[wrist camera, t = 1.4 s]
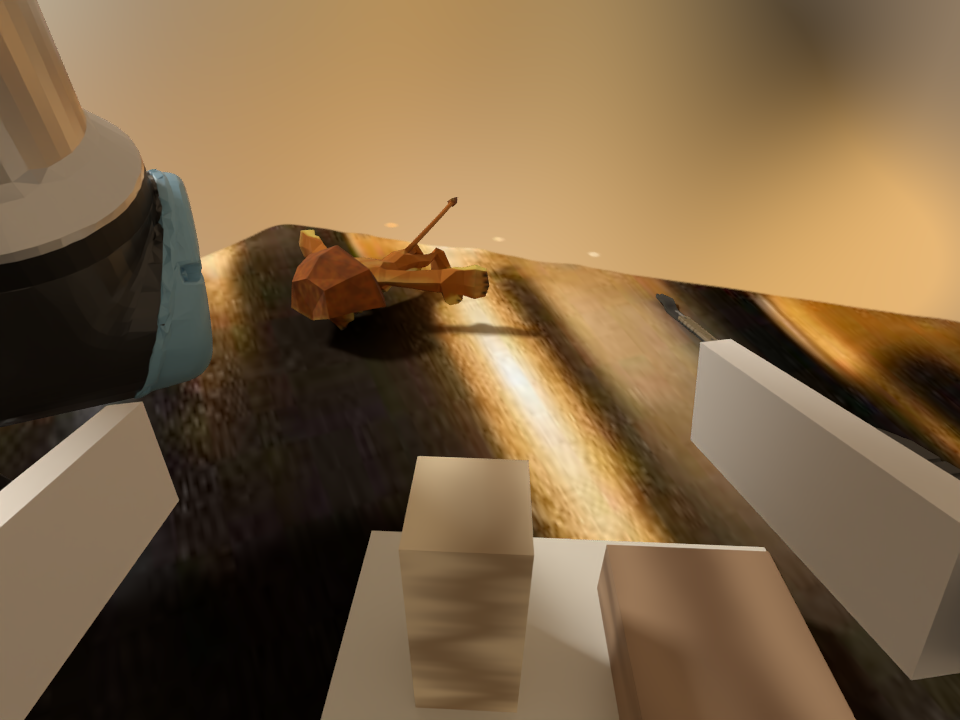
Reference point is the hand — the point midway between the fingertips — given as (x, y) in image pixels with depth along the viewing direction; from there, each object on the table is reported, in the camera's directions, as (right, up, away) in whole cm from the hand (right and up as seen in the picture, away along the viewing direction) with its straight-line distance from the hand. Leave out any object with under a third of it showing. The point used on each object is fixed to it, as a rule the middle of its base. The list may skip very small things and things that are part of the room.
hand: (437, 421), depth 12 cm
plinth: (+12, -15, +15) cm, 24 cm away
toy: (-10, +10, +55) cm, 56 cm away
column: (0, -14, +15) cm, 21 cm away
